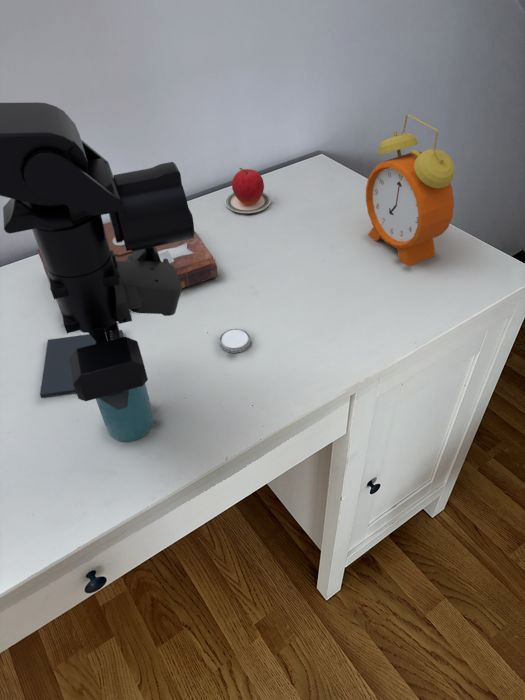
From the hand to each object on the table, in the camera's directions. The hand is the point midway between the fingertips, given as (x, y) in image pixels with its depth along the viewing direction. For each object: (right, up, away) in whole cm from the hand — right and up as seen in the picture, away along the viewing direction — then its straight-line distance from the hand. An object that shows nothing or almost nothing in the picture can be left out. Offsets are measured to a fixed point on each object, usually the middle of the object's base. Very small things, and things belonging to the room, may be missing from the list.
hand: (115, 376), depth 61 cm
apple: (+13, +29, +40) cm, 51 cm away
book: (-5, +14, +26) cm, 30 cm away
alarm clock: (+38, +20, +30) cm, 52 cm away
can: (0, -6, +6) cm, 8 cm away
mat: (-7, +1, +13) cm, 15 cm away
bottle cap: (+12, +4, +15) cm, 20 cm away
